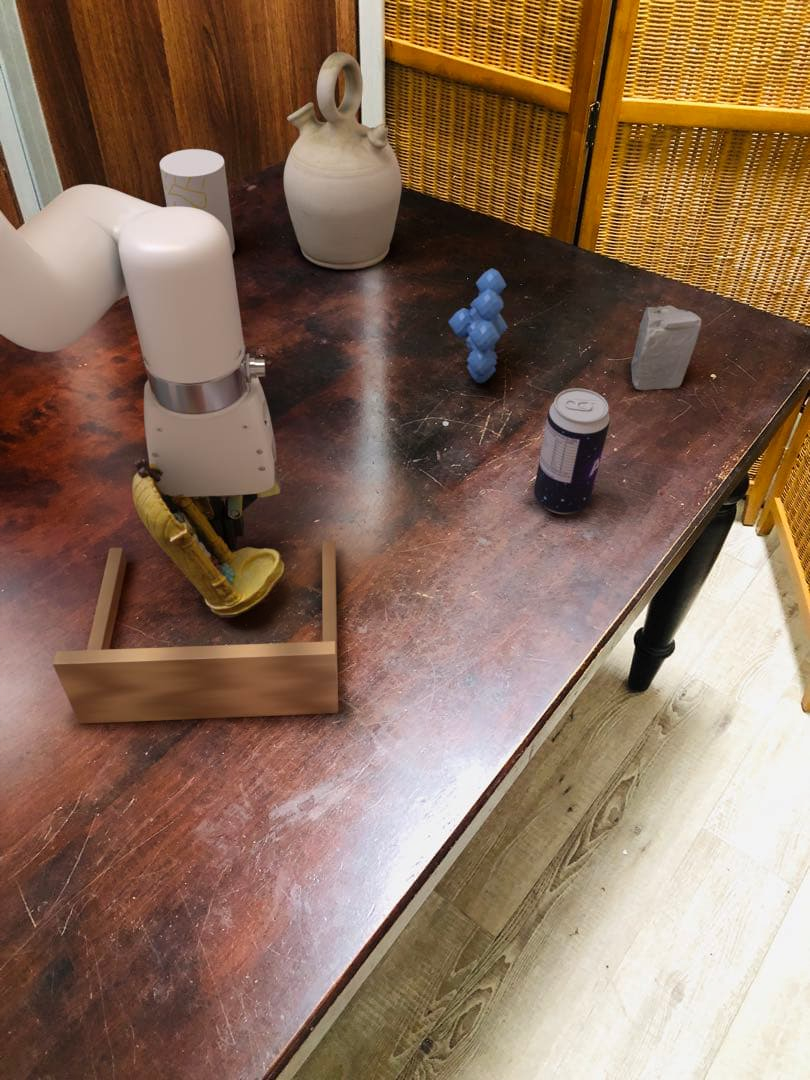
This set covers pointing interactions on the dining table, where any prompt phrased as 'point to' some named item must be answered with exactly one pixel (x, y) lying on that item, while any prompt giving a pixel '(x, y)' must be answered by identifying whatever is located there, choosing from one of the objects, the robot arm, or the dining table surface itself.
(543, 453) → the beverage can
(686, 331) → the mineral specimen
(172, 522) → the shrine
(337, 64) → the jug
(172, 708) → the wooden bench frame
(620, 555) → the dining table surface
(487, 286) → the grapes
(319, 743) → the dining table surface
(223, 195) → the white upright cylinder
